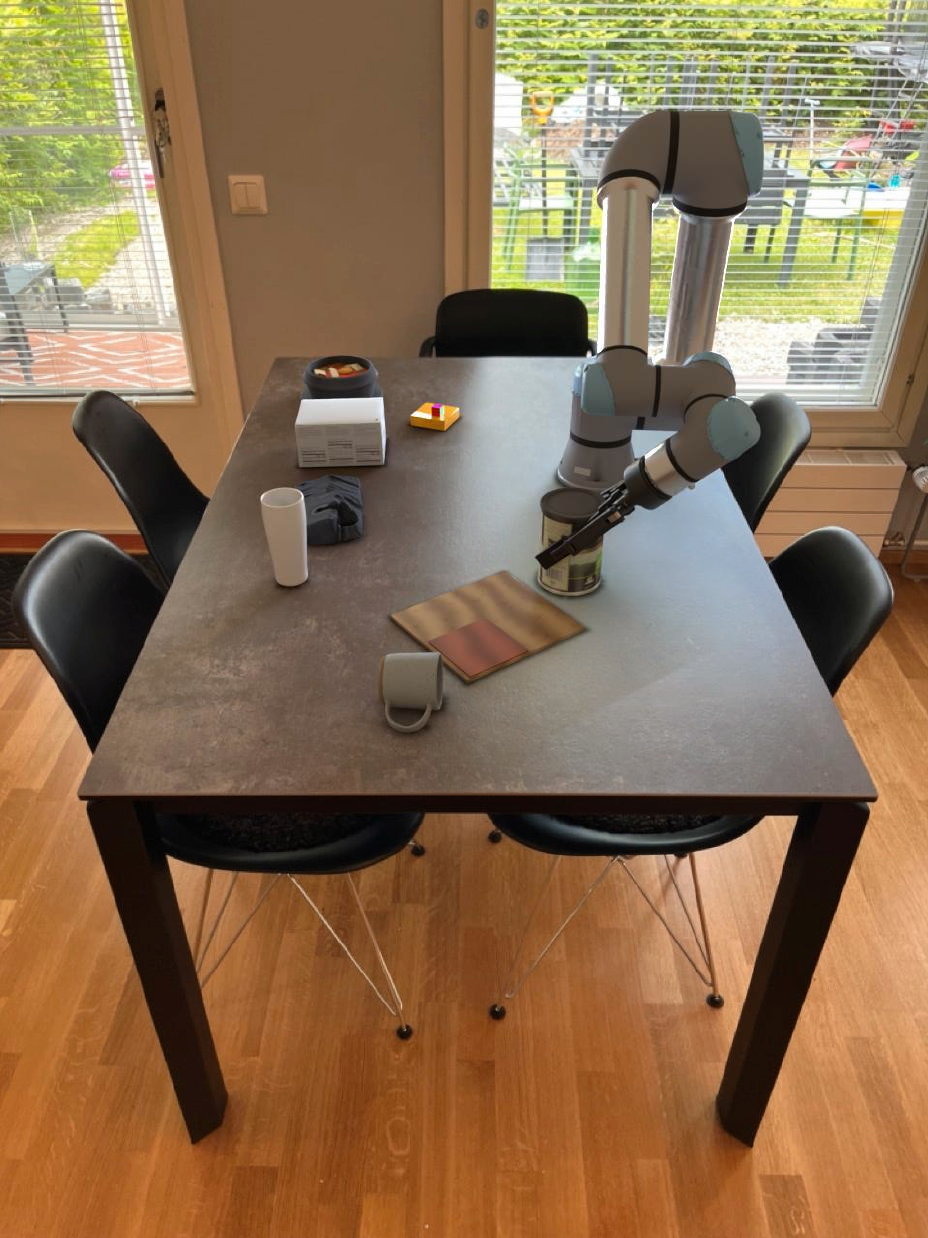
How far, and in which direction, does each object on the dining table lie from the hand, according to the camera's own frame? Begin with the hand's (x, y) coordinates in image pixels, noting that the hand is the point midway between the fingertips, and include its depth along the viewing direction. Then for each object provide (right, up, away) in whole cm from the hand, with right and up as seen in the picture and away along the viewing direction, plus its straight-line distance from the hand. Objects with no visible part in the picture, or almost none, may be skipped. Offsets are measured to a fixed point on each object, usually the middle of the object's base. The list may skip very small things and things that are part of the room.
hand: (552, 546), depth 155 cm
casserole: (-42, +37, +64) cm, 85 cm away
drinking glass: (-42, -5, +3) cm, 43 cm away
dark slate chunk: (-39, +7, +21) cm, 45 cm away
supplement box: (-39, +22, +42) cm, 61 cm away
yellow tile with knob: (-20, +31, +55) cm, 67 cm away
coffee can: (+3, -5, +2) cm, 6 cm away
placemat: (-11, -12, -8) cm, 18 cm away
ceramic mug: (-21, -24, -24) cm, 40 cm away
